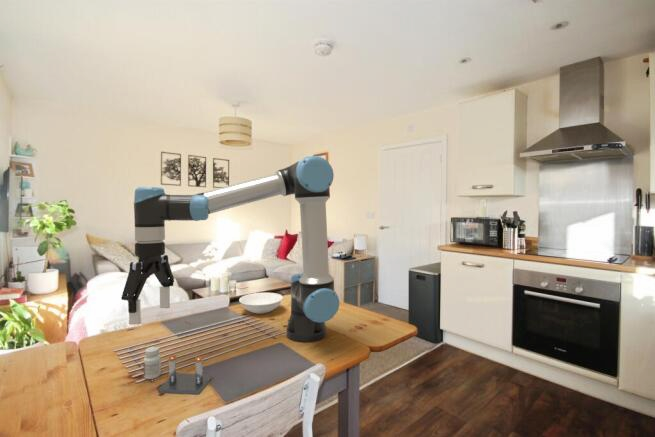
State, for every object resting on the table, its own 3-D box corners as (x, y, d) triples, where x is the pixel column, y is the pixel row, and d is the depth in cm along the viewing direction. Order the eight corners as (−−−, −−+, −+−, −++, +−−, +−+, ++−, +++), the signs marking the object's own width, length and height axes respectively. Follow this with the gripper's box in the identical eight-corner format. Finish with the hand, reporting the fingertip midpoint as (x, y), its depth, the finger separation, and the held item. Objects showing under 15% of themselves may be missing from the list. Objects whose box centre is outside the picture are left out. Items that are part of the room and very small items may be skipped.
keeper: (212, 377, 91) (211, 351, 91) (198, 394, 83) (198, 365, 83) (174, 376, 92) (173, 350, 92) (157, 392, 84) (157, 363, 84)
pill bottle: (148, 372, 95) (147, 346, 94) (163, 371, 95) (163, 345, 95) (140, 380, 90) (140, 352, 90) (157, 379, 91) (156, 352, 90)
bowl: (262, 322, 135) (262, 307, 134) (229, 314, 145) (229, 300, 145) (292, 309, 151) (291, 296, 151) (260, 302, 162) (260, 290, 162)
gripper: (163, 237, 105) (164, 302, 105) (103, 246, 80) (105, 331, 81) (185, 237, 104) (186, 302, 105) (132, 247, 79) (133, 332, 80)
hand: (151, 315), depth 93 cm, fingers open, 13 cm apart
